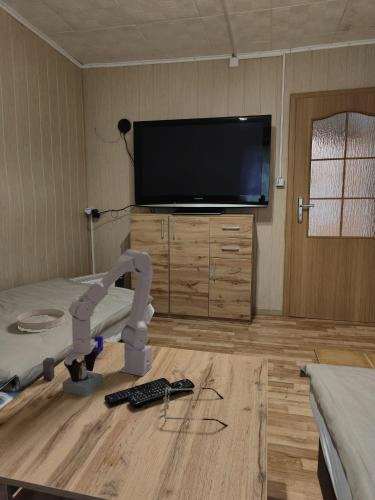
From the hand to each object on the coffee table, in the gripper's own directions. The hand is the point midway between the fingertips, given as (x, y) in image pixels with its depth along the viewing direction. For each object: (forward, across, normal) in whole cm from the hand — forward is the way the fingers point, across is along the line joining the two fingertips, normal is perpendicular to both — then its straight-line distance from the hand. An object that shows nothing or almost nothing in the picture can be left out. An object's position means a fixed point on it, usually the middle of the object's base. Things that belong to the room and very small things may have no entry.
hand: (82, 375), depth 112 cm
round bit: (+4, 0, 0) cm, 4 cm away
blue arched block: (+4, -21, -11) cm, 24 cm away
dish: (+4, -41, -55) cm, 69 cm away
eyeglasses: (+4, -1, +39) cm, 39 cm away
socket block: (+4, 0, 0) cm, 4 cm away
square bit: (+4, 0, -14) cm, 15 cm away
